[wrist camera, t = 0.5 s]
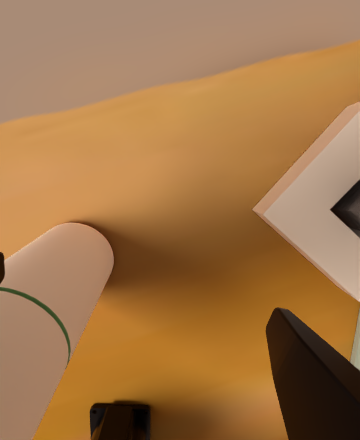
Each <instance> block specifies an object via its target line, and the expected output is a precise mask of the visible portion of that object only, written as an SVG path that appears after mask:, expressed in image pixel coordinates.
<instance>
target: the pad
mask: <svg viewBox="0 0 360 440" xmlns="http://www.w3.org/2000/svg"><path fill="white" fill-rule="evenodd" d="M350 363H352V364H353V365H354V366H355V367H356V368H357V369H359V370H360V310H359V316H358V321H357V327H356V333H355V338H354V344H353V349H352V355H351V360H350Z"/></svg>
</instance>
